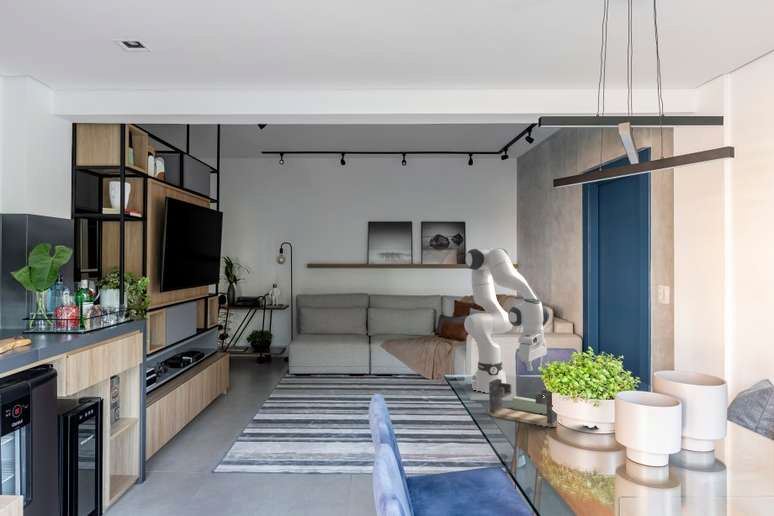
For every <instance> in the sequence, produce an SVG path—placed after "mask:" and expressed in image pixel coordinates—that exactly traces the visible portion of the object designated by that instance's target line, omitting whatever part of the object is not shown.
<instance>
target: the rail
mask: <svg viewBox="0 0 774 516" xmlns="http://www.w3.org/2000/svg"><path fill="white" fill-rule="evenodd" d="M511 400H512V401H511V404H512V410H517V411H522V412H528V413H534V414H535V413H537V414H540V413H542V415H546V414H547V405H543V404H537V403H536V399H533V398H528V397H523V396H522V397H521V396H516V395H515V396H513V397H512V398H511Z"/></svg>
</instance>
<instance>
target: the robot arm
mask: <svg viewBox="0 0 774 516" xmlns="http://www.w3.org/2000/svg"><path fill="white" fill-rule="evenodd" d="M465 265H466V267H467V268H469V270H471V289H472V295H473V300H474V303H475V304H476V305H477V306H480V307H482V308H483V309H484V312H480V313H479V312H478V313H473V314H469V315H467V316H466V317H465V319H464V323H463V324H464V329H465V331H466V333H467V334H468V335H470V336H471V337H472V338H473V339H474V341H475V343H476V346H477V353H478V362H477V369H476V371H475V373H474V375H473V374H472V376H471V377H472V382H473V383H472V387H471V389H472V388H473V389H474V390H477V391H476V392H478V391H481V392H480V393H483V392H485V393H486V394H489V382H491V381H493V380H496V379H502V383H506V384H507V379H506V378H507V376H506V372H505V371H504V370H503V362H502V352H501V350H502V349H501V345H499V343H497V342H496V341H493V340H492V336H491V335H497V334H498V335H499V334H505V333H507V332H510V331H511V330H512V328H513V327H514V328H515V327H516V328H522V332H521V334H520V336H519V337H518V338H517V341H518V343H519V346H518V349H519V359H520V361H521V362H523V363H525V365H526V370H527V372H533V370H534V369H533V366H532V361H534V360H536V367H537V368H541V367H542V366H543V364H542V363H543V357H544V356H546V355H547V353H548V346H547V339H545V330H544V326H545V325H546V324H547V323H548V321H549V320H550V311H549V310H548V308H547V306H546V305H545V304H544V303H543V302H542V301H541V299H540V298H539V297H538V294H537V293H536V292H535V290H534V289H533V287H532V286H531V284H530V282H529V281H528V280H527V278H526V277H524V276H523V275H521V274H520V272H519V271H517V270H516V268H515V266H514V265H513V262H512V261H511V259H510V257H509V254H508V252H507V250H506V249H504V248H500V247H497V248H496V247H484V248H471V249H469V250H468V251H467V252H466V254H465ZM494 282H495V283H494ZM495 284H496V285H498V286H500V287H502V288H505V289H509V290H512V291H516V292H518V293H519V294H520V295H521V296H522V297H523V298H524V299H523V300H522V301H521V302H520V303H519V304H517V305H513V306H512V307H510V309H509V311H506V310H504V309H503V307H502V306H501V305H500V303H499V301H498V299H497V295H496V289H495ZM485 393H484V394H485Z"/></svg>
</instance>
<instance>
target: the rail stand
mask: <svg viewBox="0 0 774 516" xmlns="http://www.w3.org/2000/svg"><path fill="white" fill-rule="evenodd" d="M548 390H549V389H546V388H542V389H541V392H535V394H534V395H535V399H536V403H537V404H543V405H547V415H544V414H542V415H541V414H539V413H537V414H535V413H533V412H528V411H522V410H517V409H510V408H504V407H503V398H506V397H508V396H510V395H511V394H512V384H511V383H507V382H506V383H502V379H496V380H493V381H491V382H489V393H488V395H489V396H488V397H489V410H488V411H487V416H489V415H490V417H496V418H500V419H504V420H505V419H506V420H511V421H514V422H521V423H525V424H531V425H535V424H536V425H535V426H540V425H542V426H541V427H545V426H549V427H548V428H550V427H555V426H556V425H557V414H556V413H555V412H554V411H553V410H552V407H553V405H552V392H550V391H548ZM543 395H544V396H545V398H543V397H544V396H543Z"/></svg>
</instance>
